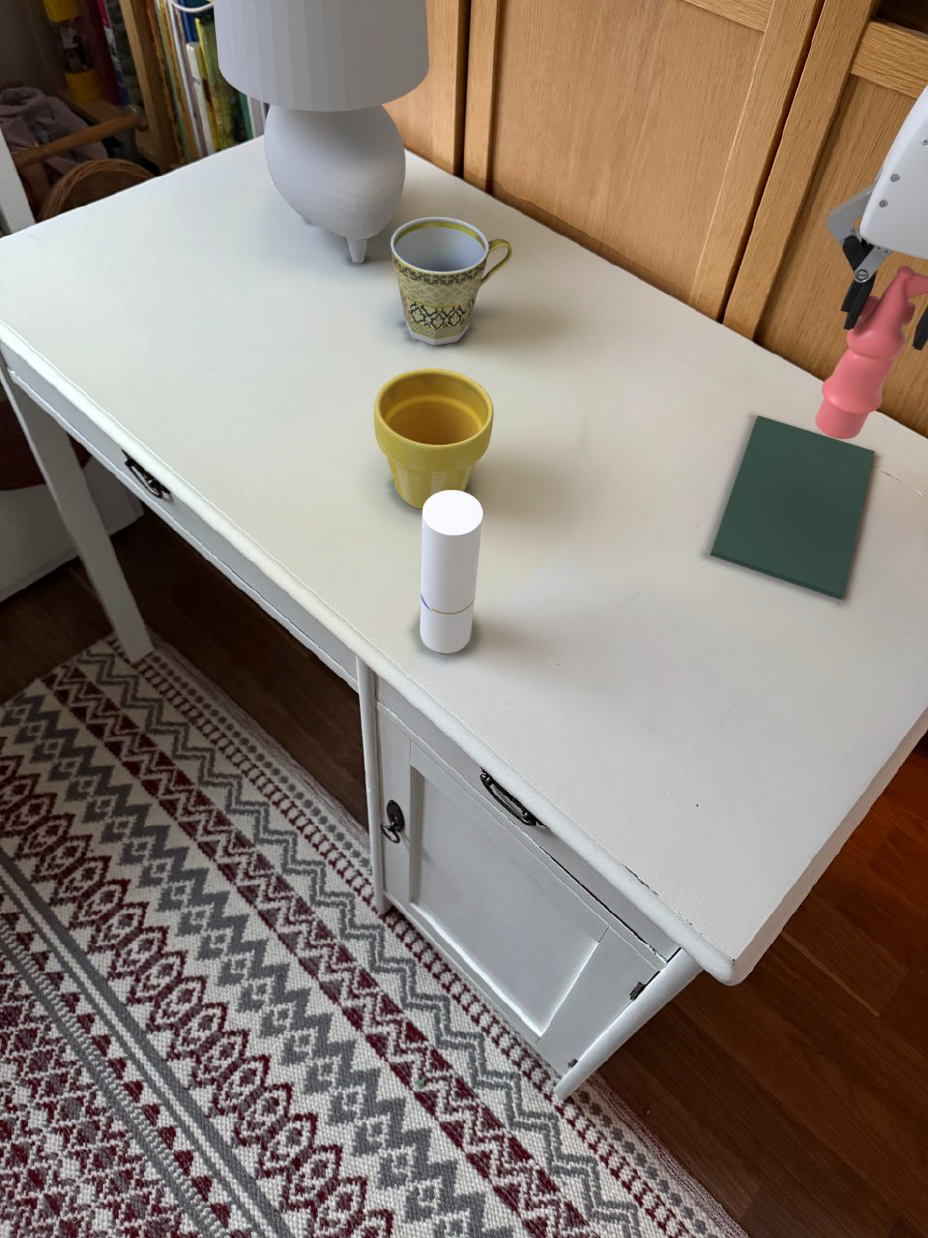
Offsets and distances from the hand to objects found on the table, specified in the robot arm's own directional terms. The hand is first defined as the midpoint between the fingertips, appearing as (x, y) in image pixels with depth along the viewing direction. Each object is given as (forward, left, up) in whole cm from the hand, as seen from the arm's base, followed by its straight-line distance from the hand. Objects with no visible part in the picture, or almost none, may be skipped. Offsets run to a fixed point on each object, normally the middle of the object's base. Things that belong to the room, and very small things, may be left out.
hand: (884, 327), depth 71 cm
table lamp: (+60, -20, -20) cm, 66 cm away
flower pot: (+33, +13, -20) cm, 40 cm away
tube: (+25, +28, -20) cm, 42 cm away
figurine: (0, 0, -10) cm, 10 cm away
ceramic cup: (+41, -10, -20) cm, 46 cm away
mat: (0, 0, -20) cm, 20 cm away
